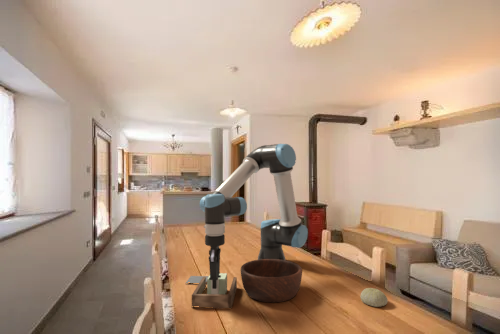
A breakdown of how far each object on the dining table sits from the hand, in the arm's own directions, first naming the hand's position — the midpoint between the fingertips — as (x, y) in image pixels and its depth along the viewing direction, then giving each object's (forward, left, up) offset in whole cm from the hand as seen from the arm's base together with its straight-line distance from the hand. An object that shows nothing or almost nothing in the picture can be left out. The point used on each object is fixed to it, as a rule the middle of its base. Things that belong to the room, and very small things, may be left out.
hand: (215, 295), depth 111 cm
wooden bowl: (-22, -8, -2) cm, 23 cm away
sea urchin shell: (-60, 0, -2) cm, 60 cm away
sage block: (0, -6, -2) cm, 6 cm away
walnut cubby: (0, -3, -2) cm, 3 cm away
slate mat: (+11, -20, -2) cm, 23 cm away
